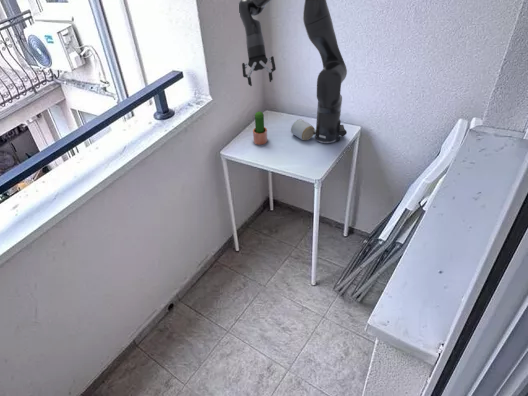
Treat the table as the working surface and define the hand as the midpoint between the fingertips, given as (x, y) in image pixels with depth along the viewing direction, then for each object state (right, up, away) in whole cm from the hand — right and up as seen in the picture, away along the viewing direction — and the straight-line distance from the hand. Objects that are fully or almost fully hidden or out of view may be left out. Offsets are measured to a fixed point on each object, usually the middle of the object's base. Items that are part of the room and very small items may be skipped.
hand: (260, 84), depth 161 cm
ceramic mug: (+21, -23, +5) cm, 32 cm away
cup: (+2, -25, +8) cm, 26 cm away
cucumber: (+2, -24, +7) cm, 26 cm away
